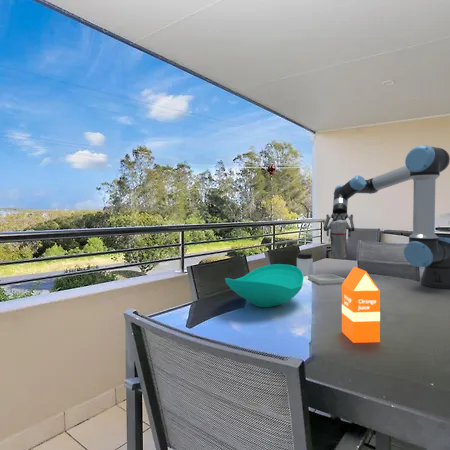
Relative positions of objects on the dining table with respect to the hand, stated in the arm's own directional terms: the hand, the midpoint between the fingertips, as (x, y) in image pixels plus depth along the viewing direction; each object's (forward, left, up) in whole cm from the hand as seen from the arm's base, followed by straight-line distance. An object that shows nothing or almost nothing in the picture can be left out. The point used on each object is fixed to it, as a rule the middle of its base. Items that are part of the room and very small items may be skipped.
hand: (338, 240), depth 177 cm
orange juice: (-72, +31, -21) cm, 81 cm away
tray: (+2, +5, -21) cm, 22 cm away
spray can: (+3, -2, -10) cm, 10 cm away
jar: (+23, +8, -21) cm, 33 cm away
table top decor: (-33, +48, -21) cm, 62 cm away
